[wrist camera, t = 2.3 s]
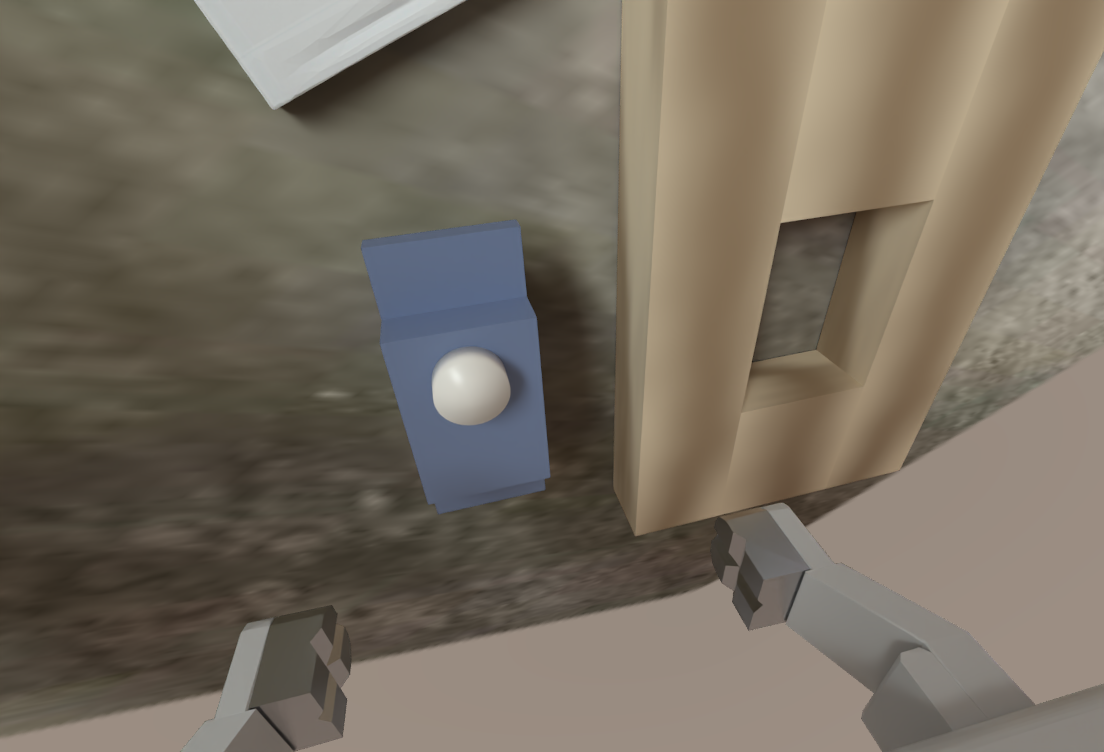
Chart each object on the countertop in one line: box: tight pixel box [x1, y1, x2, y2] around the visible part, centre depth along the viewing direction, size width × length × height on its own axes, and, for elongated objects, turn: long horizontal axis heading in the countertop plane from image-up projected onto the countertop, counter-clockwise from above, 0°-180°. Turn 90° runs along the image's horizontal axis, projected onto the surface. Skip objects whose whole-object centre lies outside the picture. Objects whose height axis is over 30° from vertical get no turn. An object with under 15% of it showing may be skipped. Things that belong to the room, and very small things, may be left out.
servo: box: [361, 220, 550, 514], centre depth 16 cm, size 4×10×6 cm, turn 3°
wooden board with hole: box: [613, 0, 1104, 536], centre depth 19 cm, size 14×20×3 cm
